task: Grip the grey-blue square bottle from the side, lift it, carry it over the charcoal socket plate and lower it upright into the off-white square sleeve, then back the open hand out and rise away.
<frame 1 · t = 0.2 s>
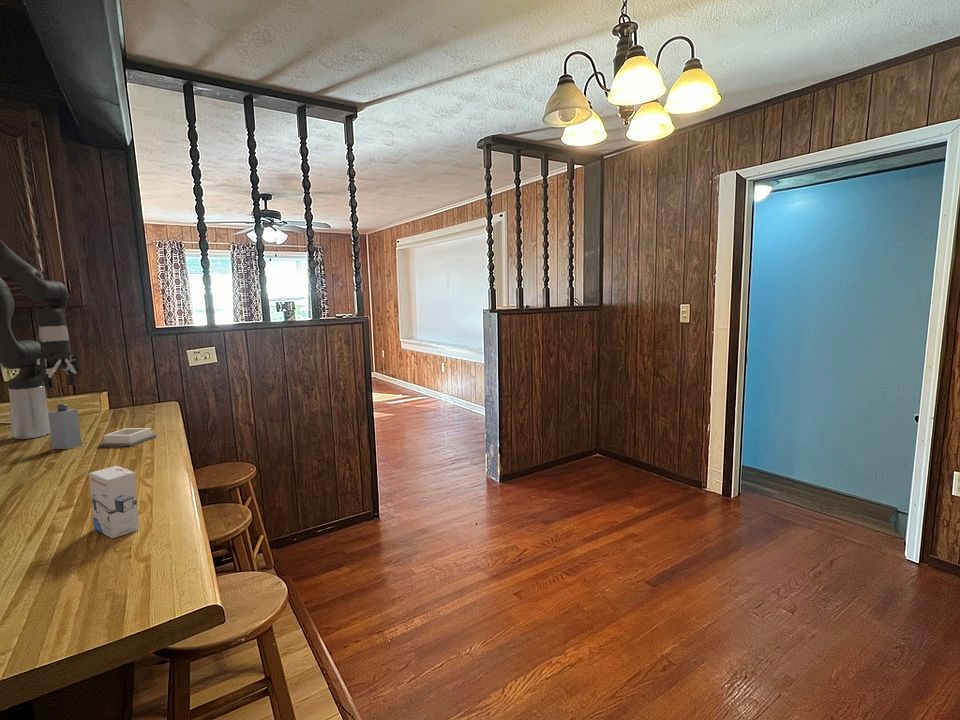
hand: (61, 387, 167), 17 cm above the worktop, tool pointing down, fingers open, 8 cm apart
socket block: (128, 441, 161), on the worktop
grey-blue square bottle: (67, 447, 156), on the worktop
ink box: (117, 530, 97), on the worktop
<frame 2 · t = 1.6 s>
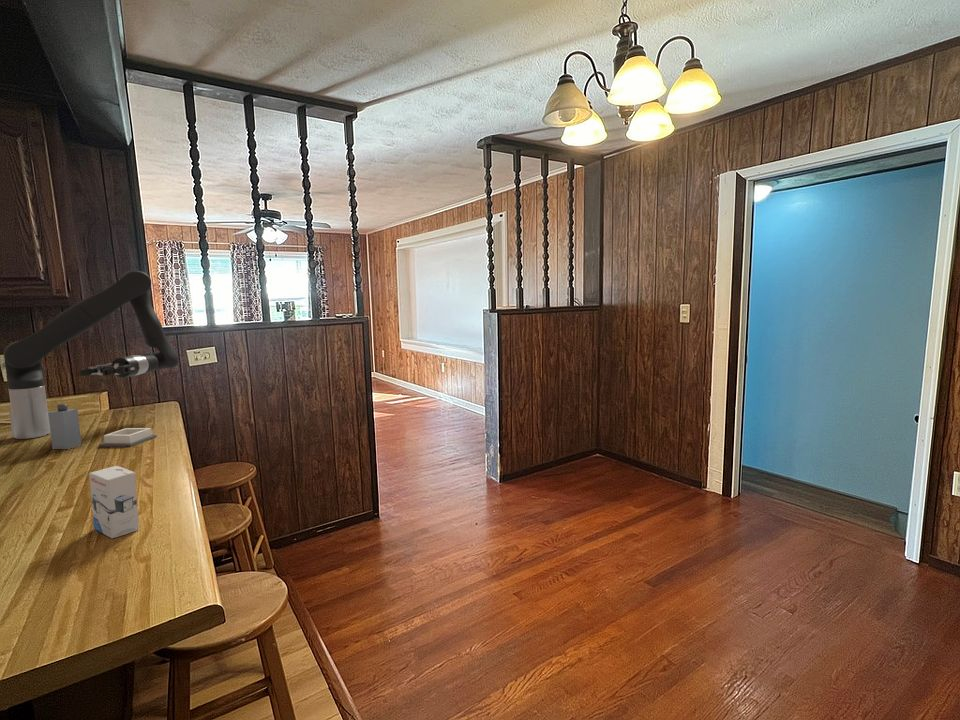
hand: (92, 373, 165), 22 cm above the worktop, tool horizontal, fingers open, 8 cm apart
nothing on the worktop moved.
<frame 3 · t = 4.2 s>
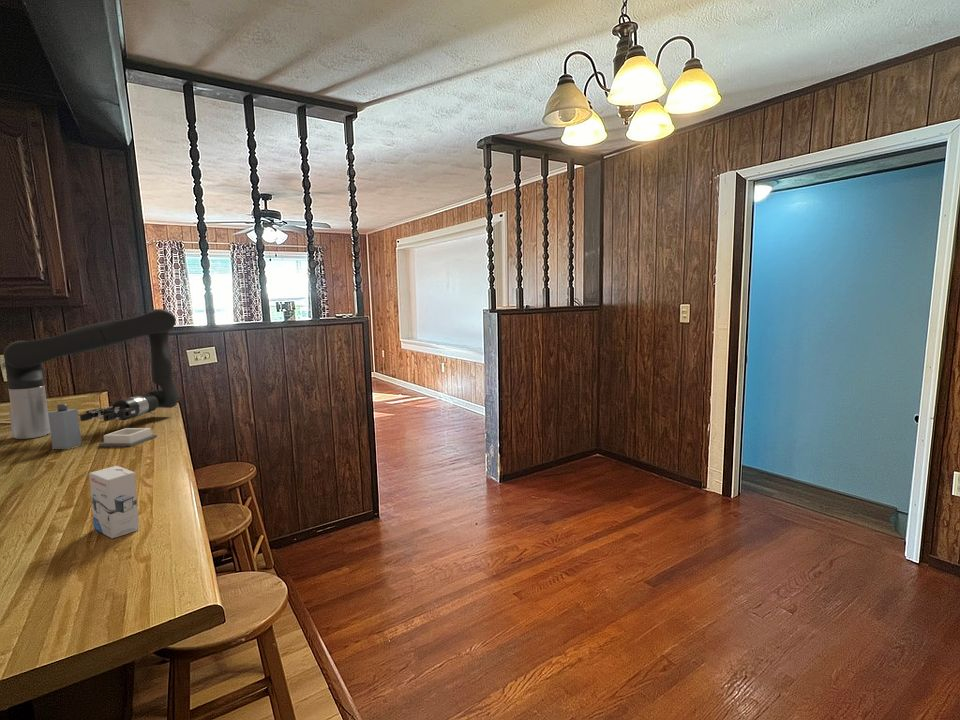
hand: (92, 418, 165), 7 cm above the worktop, tool horizontal, fingers open, 8 cm apart
nothing on the worktop moved.
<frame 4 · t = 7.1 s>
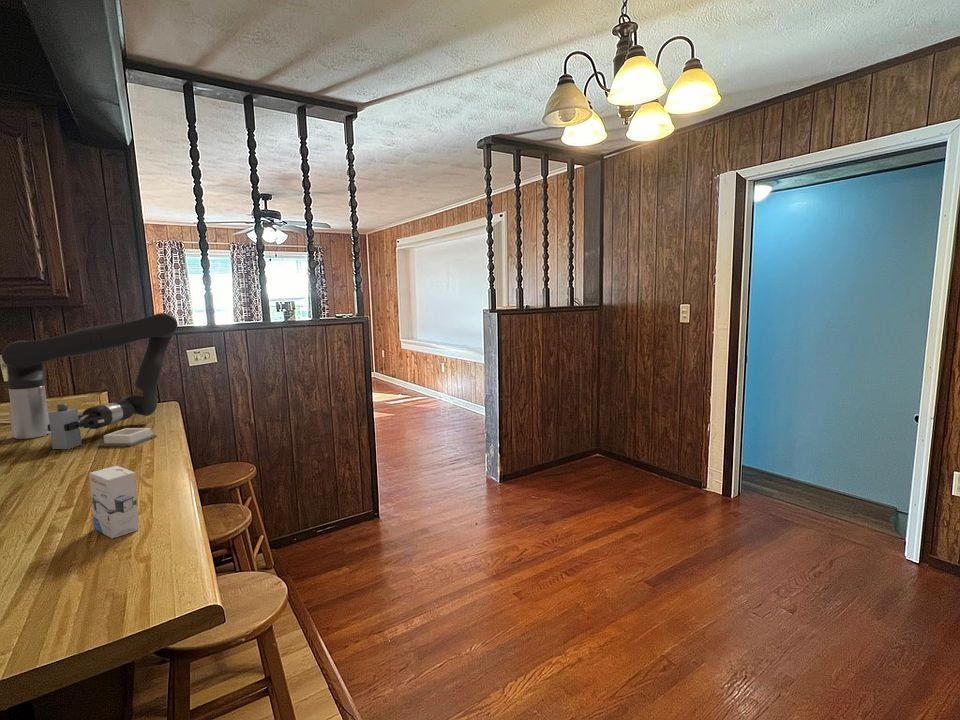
hand: (57, 428, 152), 7 cm above the worktop, tool horizontal, fingers closed on grey-blue square bottle, 5 cm apart
grey-blue square bottle: (67, 447, 156), on the worktop, touching gripper
everything else where it was.
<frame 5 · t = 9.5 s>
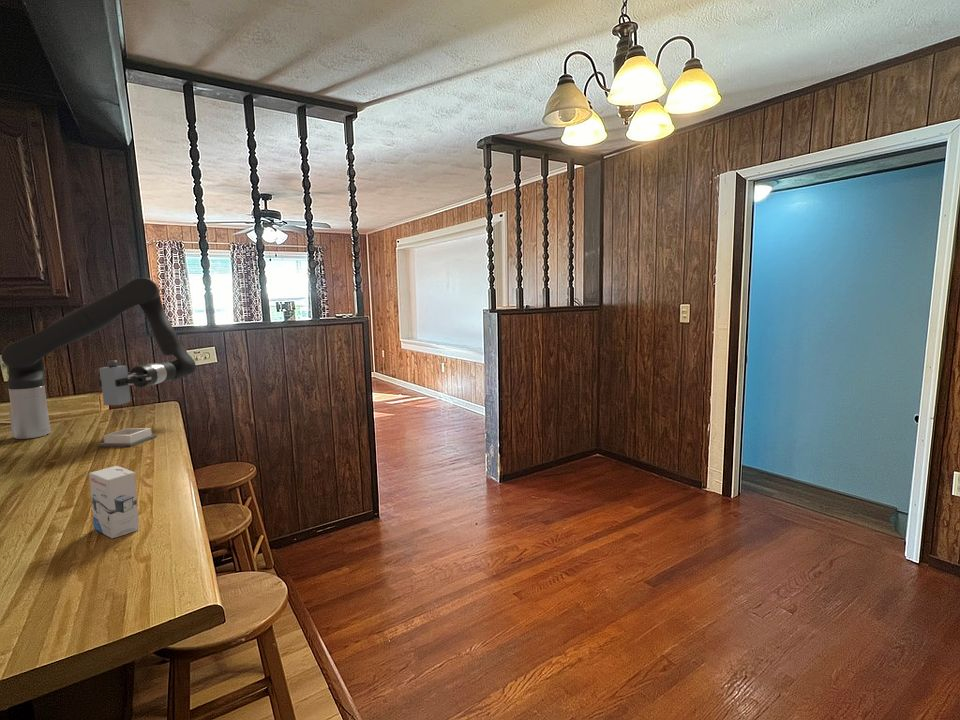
hand: (108, 383, 156), 20 cm above the worktop, tool horizontal, fingers closed on grey-blue square bottle, 5 cm apart
grey-blue square bottle: (117, 403, 159), point 13 cm above the worktop, touching gripper
everything else where it was.
when the fingers open (9 cm above the worktop, at t = 11.9 s): grey-blue square bottle stays where it is, resting on socket block.
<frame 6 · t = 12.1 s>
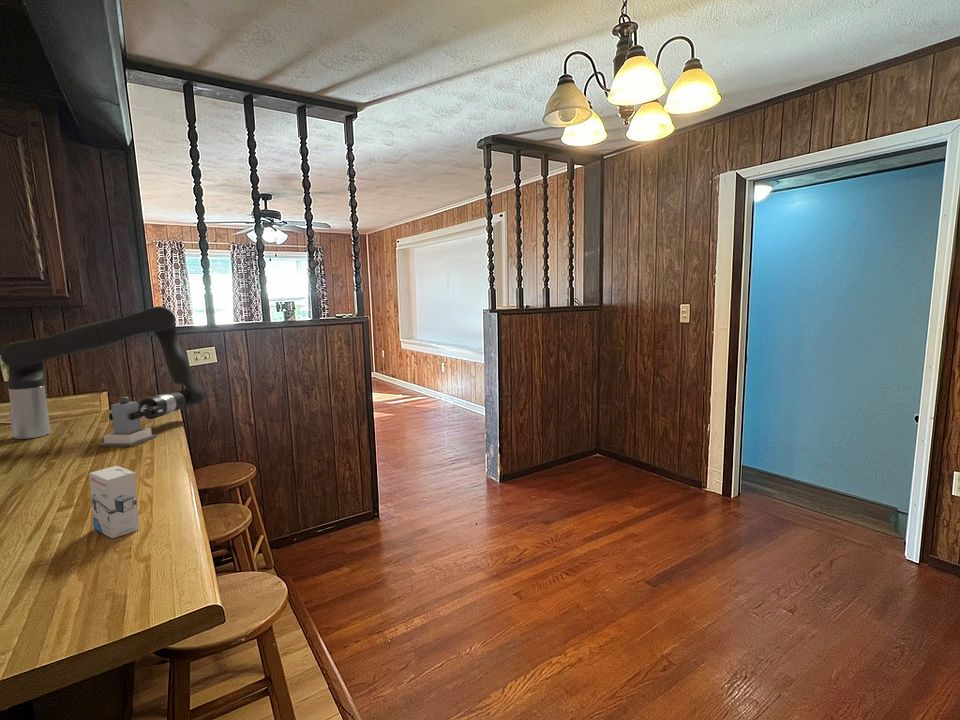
hand: (120, 417, 158), 9 cm above the worktop, tool horizontal, fingers open, 6 cm apart
grey-blue square bottle: (128, 439, 161), point 1 cm above the worktop, touching socket block
everything else where it was.
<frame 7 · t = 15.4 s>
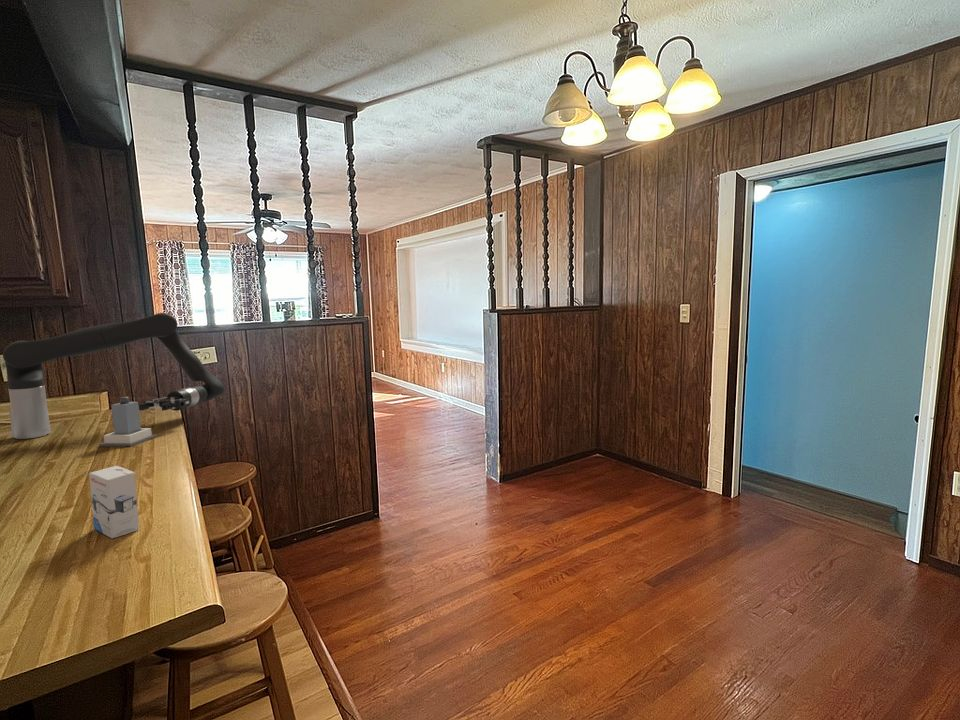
hand: (151, 407, 171), 9 cm above the worktop, tool horizontal, fingers open, 8 cm apart
nothing on the worktop moved.
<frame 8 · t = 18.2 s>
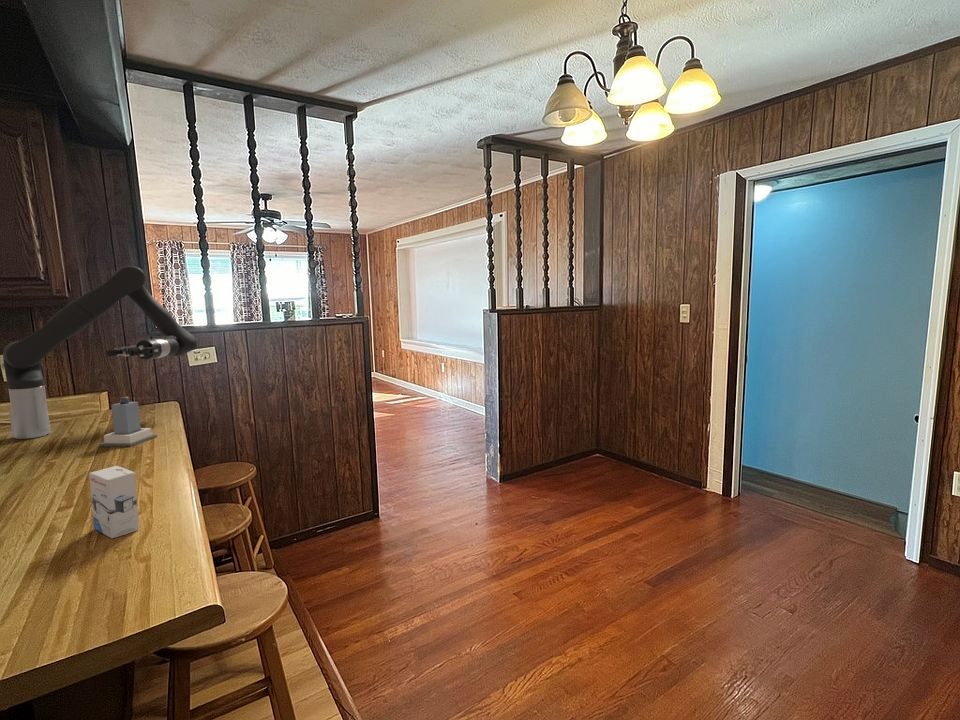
hand: (118, 353, 171), 28 cm above the worktop, tool horizontal, fingers open, 8 cm apart
nothing on the worktop moved.
at the end: grey-blue square bottle 0.0 cm off-centre on the socket block, point 0.8 cm above the socket block's base; grey-blue square bottle tilted 0°; the gripper is holding nothing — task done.
